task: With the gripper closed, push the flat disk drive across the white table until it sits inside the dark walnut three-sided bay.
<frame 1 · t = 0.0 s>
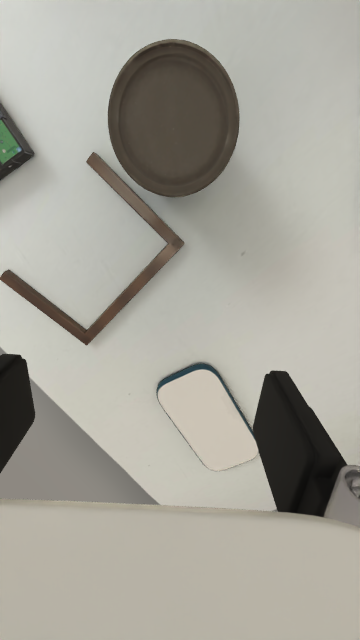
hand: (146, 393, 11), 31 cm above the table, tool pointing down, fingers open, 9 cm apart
external hard drive: (209, 416, 52), on the table
bay: (87, 256, 40), on the table
coffee can: (175, 152, 35), on the table
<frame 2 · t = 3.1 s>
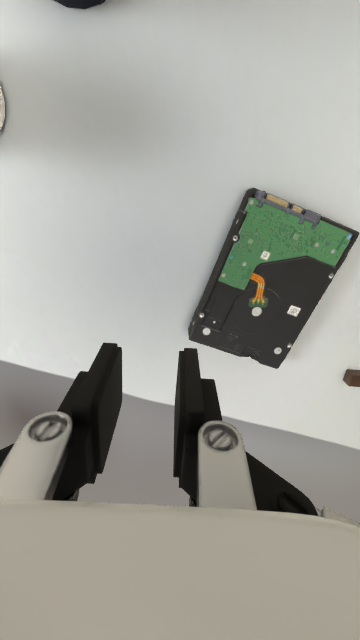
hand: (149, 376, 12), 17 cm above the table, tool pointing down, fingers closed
disk drive: (259, 282, 28), on the table
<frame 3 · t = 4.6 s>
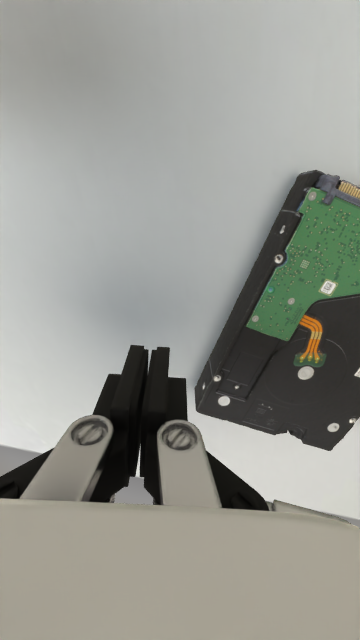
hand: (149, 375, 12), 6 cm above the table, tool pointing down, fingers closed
disk drive: (306, 321, 18), on the table
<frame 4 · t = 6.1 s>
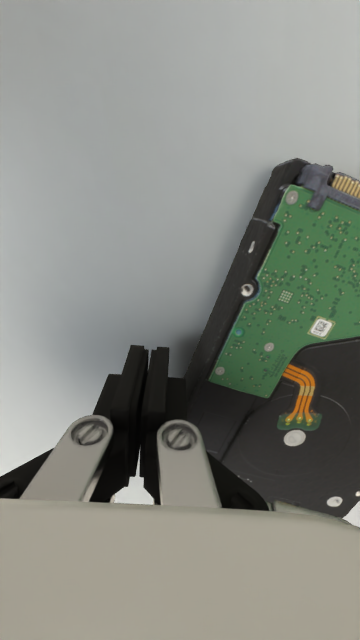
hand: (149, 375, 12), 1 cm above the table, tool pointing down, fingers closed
disk drive: (295, 361, 14), on the table, touching gripper
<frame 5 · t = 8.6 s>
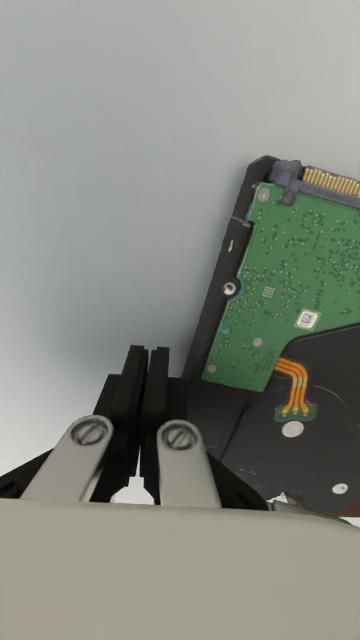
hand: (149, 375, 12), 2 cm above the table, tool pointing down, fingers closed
disk drive: (290, 353, 14), on the table, touching gripper
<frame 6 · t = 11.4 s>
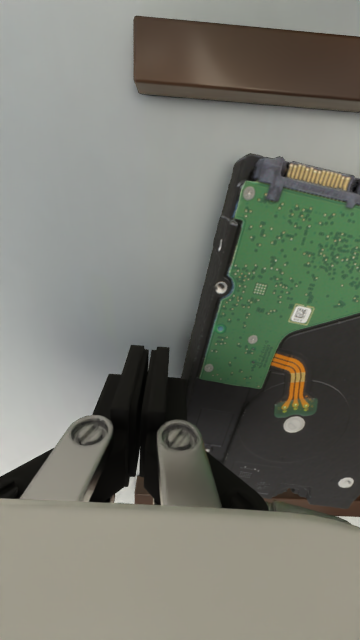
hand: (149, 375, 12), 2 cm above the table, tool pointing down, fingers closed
disk drive: (289, 348, 14), on the table, touching gripper
bay: (281, 348, 14), on the table
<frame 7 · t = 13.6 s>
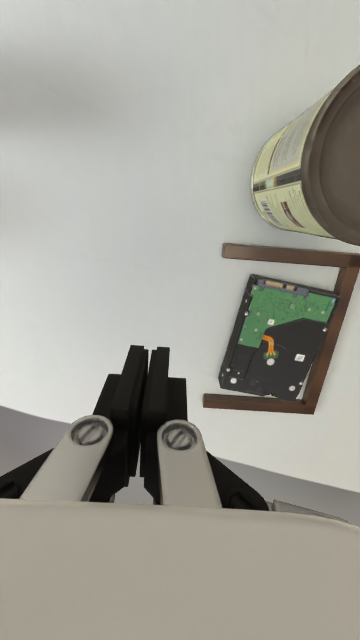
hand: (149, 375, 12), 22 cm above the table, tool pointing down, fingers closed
disk drive: (269, 335, 36), on the table
bay: (266, 335, 36), on the table
coffee can: (298, 179, 29), on the table
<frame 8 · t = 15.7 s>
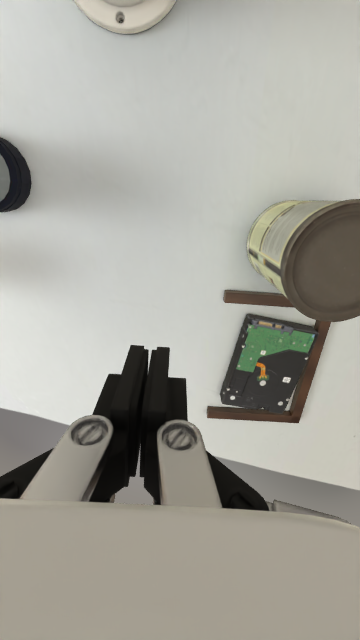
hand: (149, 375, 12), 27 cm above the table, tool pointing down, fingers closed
disk drive: (262, 360, 44), on the table
bay: (259, 360, 43), on the table
coffee can: (285, 241, 36), on the table
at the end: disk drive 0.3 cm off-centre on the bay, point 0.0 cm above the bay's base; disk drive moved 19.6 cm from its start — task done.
